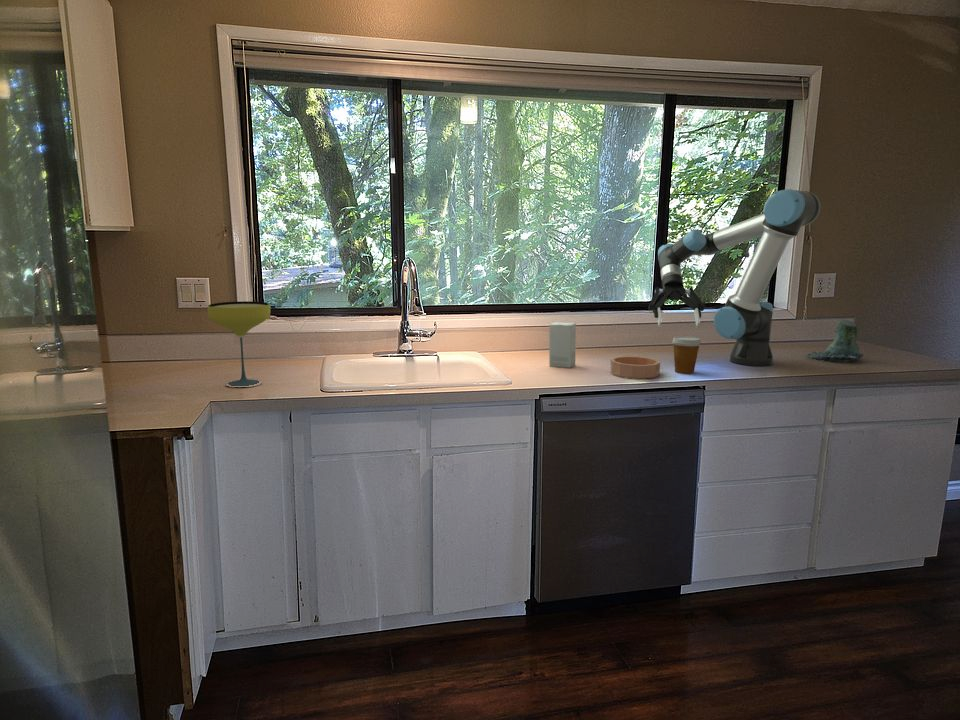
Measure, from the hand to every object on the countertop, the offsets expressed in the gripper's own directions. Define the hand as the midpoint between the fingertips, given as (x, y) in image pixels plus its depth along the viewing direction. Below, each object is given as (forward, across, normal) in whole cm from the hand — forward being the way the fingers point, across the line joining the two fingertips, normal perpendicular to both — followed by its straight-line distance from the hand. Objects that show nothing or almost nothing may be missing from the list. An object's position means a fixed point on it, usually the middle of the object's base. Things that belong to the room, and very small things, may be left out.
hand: (679, 324), depth 241 cm
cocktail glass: (+40, +144, +18) cm, 150 cm away
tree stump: (-2, -66, -24) cm, 70 cm away
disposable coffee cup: (+18, 0, -3) cm, 19 cm away
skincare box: (+14, +42, -8) cm, 45 cm away
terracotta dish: (+21, +18, 0) cm, 28 cm away
